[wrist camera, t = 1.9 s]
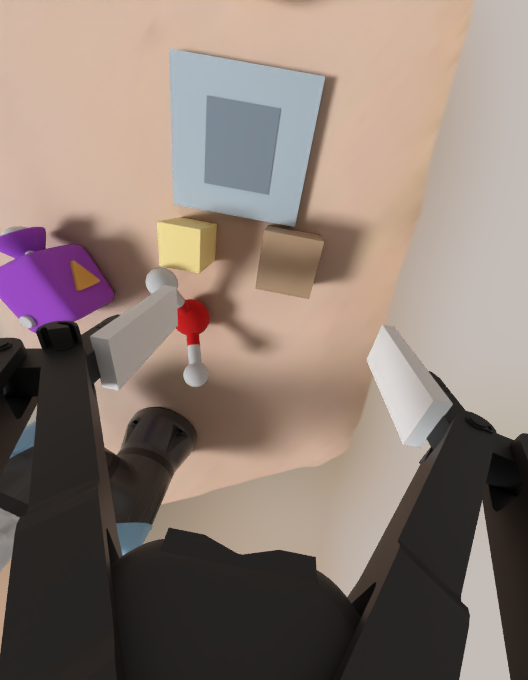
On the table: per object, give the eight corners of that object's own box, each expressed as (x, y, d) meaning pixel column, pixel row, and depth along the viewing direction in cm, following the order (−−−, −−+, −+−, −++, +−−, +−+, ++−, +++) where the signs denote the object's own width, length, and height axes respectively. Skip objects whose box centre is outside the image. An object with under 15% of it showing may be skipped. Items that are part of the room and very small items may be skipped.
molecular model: (225, 353, 44) (209, 391, 36) (197, 356, 45) (174, 393, 37) (197, 252, 36) (167, 269, 27) (162, 258, 37) (122, 276, 28)
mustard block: (215, 260, 36) (199, 273, 30) (181, 254, 36) (159, 265, 30) (216, 223, 34) (200, 229, 28) (181, 217, 34) (156, 221, 28)
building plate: (294, 226, 33) (294, 227, 32) (177, 204, 33) (173, 204, 32) (324, 81, 26) (325, 75, 25) (174, 54, 26) (168, 47, 25)
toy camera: (57, 208, 35) (-20, 211, 26) (128, 289, 40) (83, 314, 32) (18, 249, 39) (-61, 264, 30) (88, 318, 44) (37, 348, 35)
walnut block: (306, 284, 37) (308, 298, 32) (260, 275, 37) (255, 288, 32) (319, 234, 33) (324, 241, 28) (268, 225, 33) (264, 230, 28)
